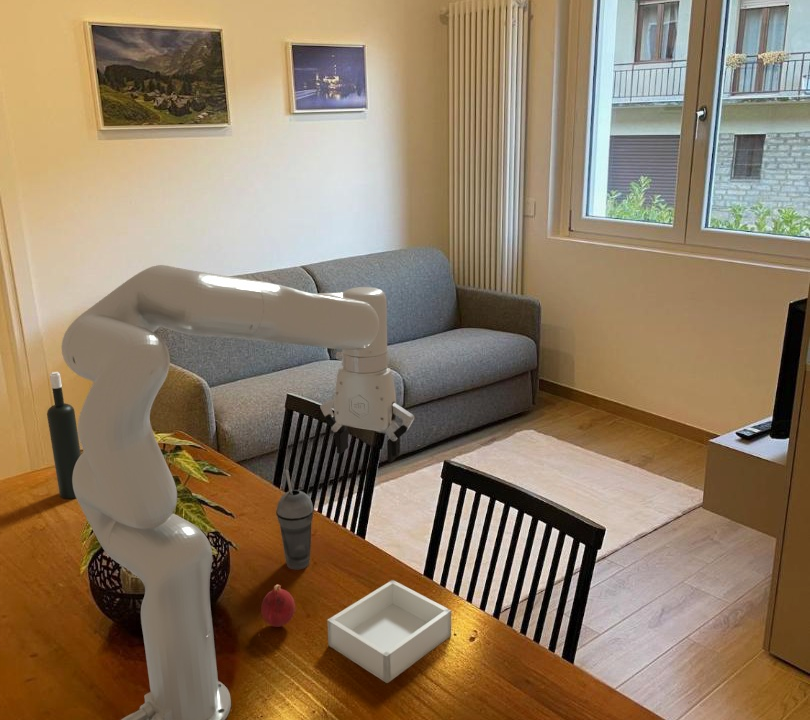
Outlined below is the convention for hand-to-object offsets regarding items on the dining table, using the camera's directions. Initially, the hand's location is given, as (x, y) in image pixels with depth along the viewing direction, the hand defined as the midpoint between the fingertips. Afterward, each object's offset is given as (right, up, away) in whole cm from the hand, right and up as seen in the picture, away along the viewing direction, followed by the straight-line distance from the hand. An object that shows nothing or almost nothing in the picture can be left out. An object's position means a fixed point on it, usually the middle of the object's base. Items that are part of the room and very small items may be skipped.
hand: (367, 454), depth 136 cm
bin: (+4, -31, -5) cm, 31 cm away
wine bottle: (-72, -15, +48) cm, 87 cm away
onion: (-15, -30, -1) cm, 33 cm away
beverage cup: (-15, -24, +18) cm, 33 cm away
